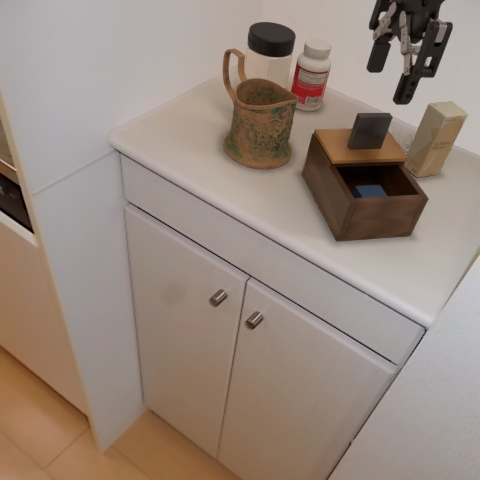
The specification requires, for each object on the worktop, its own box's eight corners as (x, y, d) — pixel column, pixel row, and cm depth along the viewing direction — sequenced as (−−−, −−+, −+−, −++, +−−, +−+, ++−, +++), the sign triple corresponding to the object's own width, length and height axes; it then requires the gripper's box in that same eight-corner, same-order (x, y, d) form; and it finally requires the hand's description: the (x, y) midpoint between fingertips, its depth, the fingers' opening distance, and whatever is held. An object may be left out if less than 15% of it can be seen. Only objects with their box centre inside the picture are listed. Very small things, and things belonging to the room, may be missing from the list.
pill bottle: (299, 92, 102) (312, 32, 94) (326, 104, 100) (342, 44, 92) (282, 103, 98) (294, 42, 90) (310, 116, 97) (325, 55, 88)
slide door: (385, 131, 81) (398, 96, 77) (407, 161, 76) (422, 125, 72) (313, 132, 78) (322, 96, 74) (332, 164, 73) (343, 127, 69)
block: (371, 206, 80) (380, 184, 77) (382, 223, 77) (391, 201, 74) (347, 207, 79) (355, 185, 76) (357, 225, 76) (366, 203, 73)
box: (416, 178, 88) (443, 116, 79) (401, 164, 90) (426, 102, 82) (440, 174, 90) (469, 113, 81) (425, 160, 92) (452, 99, 84)
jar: (240, 84, 101) (249, 17, 92) (282, 90, 102) (295, 24, 93) (239, 107, 95) (248, 38, 86) (283, 113, 96) (296, 46, 87)
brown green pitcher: (246, 108, 96) (256, 39, 87) (305, 159, 87) (323, 89, 78) (192, 119, 91) (196, 48, 82) (248, 175, 82) (260, 102, 73)
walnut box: (368, 172, 87) (383, 131, 82) (410, 235, 78) (430, 195, 72) (301, 174, 84) (312, 132, 79) (336, 241, 75) (351, 199, 69)
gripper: (502, -34, 53) (436, 115, 66) (436, -77, 62) (389, 62, 74) (438, -39, 51) (382, 115, 64) (380, -83, 60) (341, 61, 72)
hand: (386, 86), depth 69 cm, fingers open, 8 cm apart
